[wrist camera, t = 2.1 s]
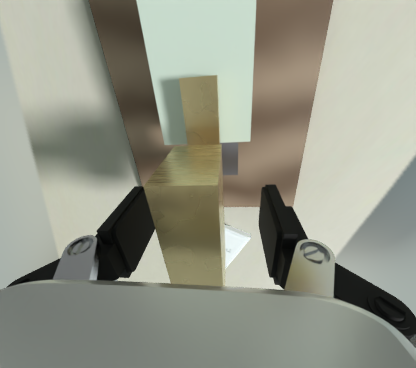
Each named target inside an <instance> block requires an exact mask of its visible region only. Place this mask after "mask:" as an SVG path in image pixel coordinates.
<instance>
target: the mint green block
mask: <svg viewBox="0 0 416 368" xmlns="http://www.w3.org/2000/svg"><path fill="white" fill-rule="evenodd" d="M136 1H137V6H138V11H139V16H140V22H141V27H142V32H143V37H144V42H145V47H146V52H147V58H148V63H149V68H150V73H151V78H152V83H153V88H154V94H155V99H156V104H157V109H158V114H159V119H160V125H161V130H162V135H163V140H164V145H179V144H187V137H186V129H185V121H184V114H183V106H182V98H181V90H180V83H179V78H188V77H199V76H211V75H218V95H219V120H220V143H227V142H250V137H251V114H252V91H253V68H254V45H255V22H256V0H136Z"/></svg>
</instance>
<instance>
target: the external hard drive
mask: <svg viewBox="0 0 416 368" xmlns="http://www.w3.org/2000/svg"><path fill="white" fill-rule="evenodd" d="M224 227H225V268H226V267H227V266H228V265H229V264H230V263H231V261H232V260H233V259H234V258H235V256H236V255H237V254H238V253H239V252H240V250H241V249H242V248H243V247H244V246H245V244H246V243H247V242H248V241H249V240H250V239H251V234H250V233H247V232H245V231H242V230H240V229H238V228H235V227H233V226H230V225H229V226H228V225H225V224H224Z"/></svg>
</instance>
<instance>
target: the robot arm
mask: <svg viewBox="0 0 416 368" xmlns="http://www.w3.org/2000/svg"><path fill="white" fill-rule="evenodd" d="M154 230H155V226H154V222H153V219H152V215H151V212H150V208H149V205H148V201H147V198H146V194H145V191H144V187H143V186H136V187H134V188H133V189H132V190H131V191H130V193H129V194H128V195H127V196H126V197H125V198H124V200H123V201H122V202H121V203H120V204H119V205H118V207H117V208H116V209H115V210H114V211H113V212H112V214H111V215H110V216H109V217H108V218H107V219H106V221H105V222H104V223H103V224H102V225H101V226H100V228H99V229H98V230H97V233H98V234H97V235H96V236H93V235H87V236H83V237H80V238H78V239H76V240H74V241H72V242H71V243H70V244H69V245H68V246H67V247H66V248H65V250H64V251H63V254H62V257H61V258H60V259H58V260H56V261H54V262H52V263H50V264H48V265H45V266H44V267H41V268H39V269H37V270H35V271H33V272H31V273H29V274H27V275H25V276H23V277H21V278H19V279H17V280H15V281H14V282H12V283H11V284H10V285H9V286H7V287H6V288H4V289H1V290H0V368H416V317H415V315H414V314H413V313H412V312H411V310H410V309H409V308H408V307H407V306H406V305H405V304H404V303H403V302H402V301H400V300H398V299H397V298H396V297H394V296H393V295H391V294H389V293H387V292H385V291H384V290H382V289H380V288H379V287H377V286H375V285H373V284H372V283H370V282H368V281H366V280H365V279H363V278H361V277H359V276H358V275H356V274H354V273H352V272H350V271H349V270H347V269H345V268H343V267H342V266H340V265H338V264H337V263H335V257H334V254H333V252H332V251H331V250H330V249H329V248H328V247H327V246H326V245H324V244H323V243H321V242H318V241H316V240H311V239H308V238H307V236H306V234H305V232H304V230H303V228H302V226H301V224H300V222H299V220H298V218H297V216H296V214H295V212H294V210H293V208H292V207H291V206H285V204H284V202H283V200H282V197H281V195H280V193H279V191H278V188H277V186H276V185H275V184H268V185H265V187H262V189H261V201H260V213H259V230H260V234H261V239H262V244H263V249H264V253H265V258H266V263H267V268H268V273H269V276H270V277H272V278H273V279H274V283H275V285H280V287H282V288H283V289H284V290H274V289H260V288H244V287H226V286H207V285H188V284H168V283H148V282H126V281H117V279H118V278H119V277H122V278H129V277H130V275H131V273H132V272H133V271H135V269H136V268H137V265H138V263H139V261H140V259H141V257H142V255H143V253H144V251H145V249H146V247H147V245H148V243H149V241H150V238H151V236H152V234H153V232H154Z"/></svg>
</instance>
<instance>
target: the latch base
mask: <svg viewBox="0 0 416 368" xmlns="http://www.w3.org/2000/svg"><path fill="white" fill-rule="evenodd" d="M89 4H90V7H91V11H92V14H93V18H94V21H95V24H96V28H97V31H98V35H99V38H100V42H101V45H102V49H103V52H104V56H105V59H106V63H107V66H108V69H109V73H110V76H111V80H112V83H113V87H114V90H115V94H116V97H117V101H118V104H119V107H120V111H121V114H122V118H123V121H124V125H125V128H126V132H127V135H128V139H129V142H130V146H131V149H132V152H133V156H134V159H135V163H136V166H137V170H138V173H139V177H140V180H141V184H142V186H144V185H145V183H146V182H147V181H148V180H149V178H150V177H151V176H152V174H153V173H154V172H155V171H156V169H157V168H158V167H159V165H160V164H161V163H162V162H163V160H164V159H165V158H166V157H167V155H168V154H169V153H170V151H171V150H172V149H173V148H174V146H188V144H179V145H164V140H163V135H162V130H161V125H160V119H159V114H158V109H157V104H156V99H155V94H154V88H153V83H152V78H151V73H150V68H149V63H148V58H147V52H146V47H145V42H144V37H143V32H142V27H141V22H140V16H139V11H138V6H137V1H136V0H89ZM332 4H333V0H256V22H255V45H254V68H253V91H252V114H251V137H250V142H227V143H220V144H222V171H223V199H224V207H260V201H261V189H262V187H265V185H268V184H275V185H276V186H277V188H278V191H279V193H280V195H281V197H282V200H283V202H284V204H285V206H291V207H293V204H294V198H295V193H296V188H297V183H298V178H299V173H300V168H301V163H302V157H303V152H304V147H305V142H306V137H307V132H308V127H309V122H310V117H311V111H312V106H313V101H314V96H315V91H316V86H317V81H318V76H319V71H320V65H321V60H322V55H323V50H324V45H325V40H326V35H327V30H328V24H329V19H330V14H331V9H332Z"/></svg>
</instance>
